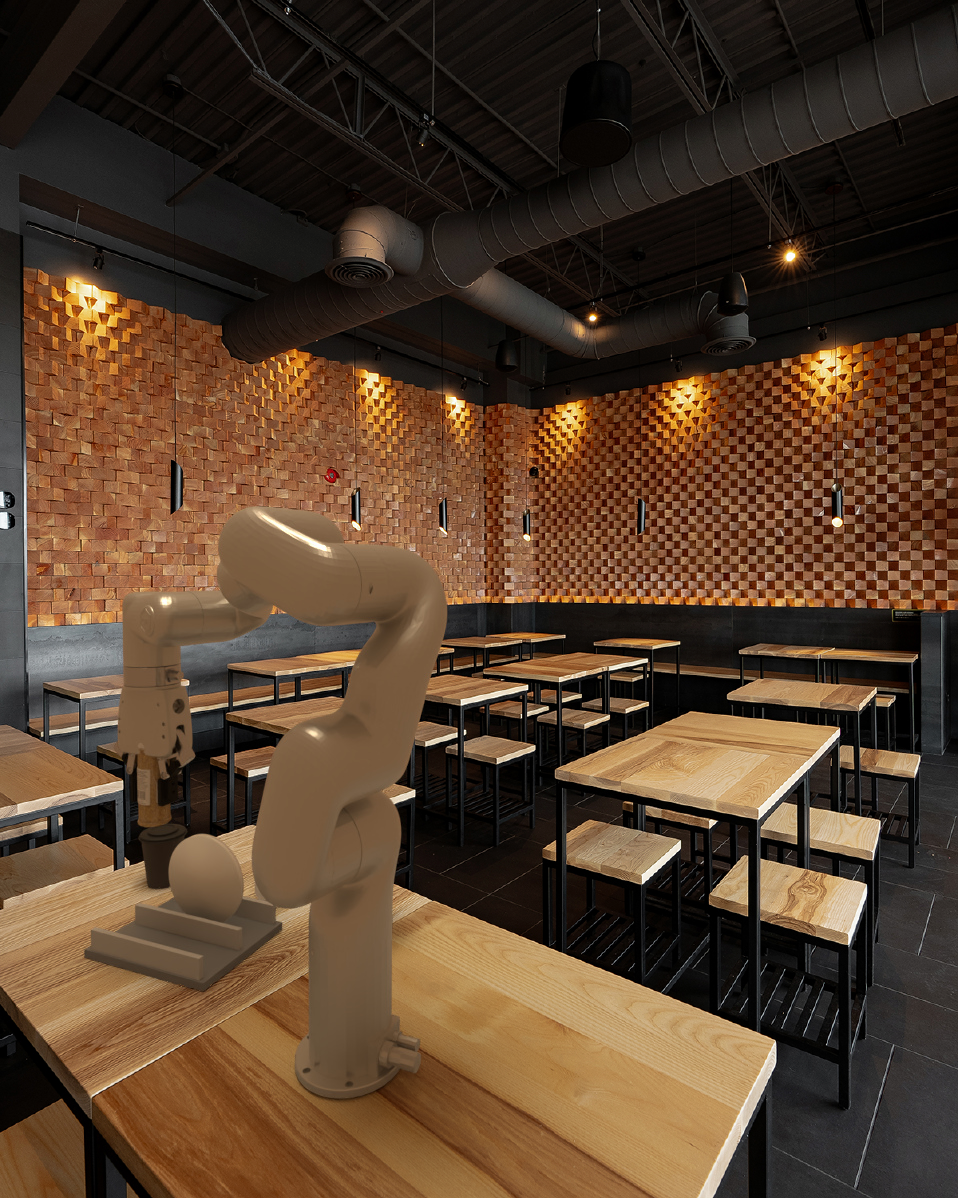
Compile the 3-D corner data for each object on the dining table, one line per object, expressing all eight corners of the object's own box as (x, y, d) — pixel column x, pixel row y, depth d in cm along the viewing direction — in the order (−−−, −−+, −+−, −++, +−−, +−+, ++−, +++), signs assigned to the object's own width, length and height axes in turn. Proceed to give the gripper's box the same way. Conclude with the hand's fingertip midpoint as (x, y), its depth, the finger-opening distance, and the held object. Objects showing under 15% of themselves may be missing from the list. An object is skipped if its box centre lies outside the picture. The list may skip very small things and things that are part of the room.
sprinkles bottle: (174, 824, 98) (173, 732, 98) (139, 830, 96) (137, 736, 95) (168, 814, 102) (167, 726, 102) (134, 820, 100) (133, 730, 99)
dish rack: (282, 929, 107) (281, 835, 107) (203, 992, 91) (202, 881, 91) (174, 904, 115) (173, 815, 114) (84, 957, 99) (82, 855, 98)
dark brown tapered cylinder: (172, 868, 129) (172, 816, 128) (196, 880, 124) (196, 826, 123) (129, 884, 122) (129, 829, 122) (153, 897, 117) (153, 840, 117)
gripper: (217, 676, 99) (218, 800, 100) (130, 669, 105) (131, 786, 105) (178, 684, 92) (179, 817, 93) (86, 677, 98) (89, 802, 98)
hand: (154, 799), depth 99 cm, fingers closed on sprinkles bottle, 4 cm apart
